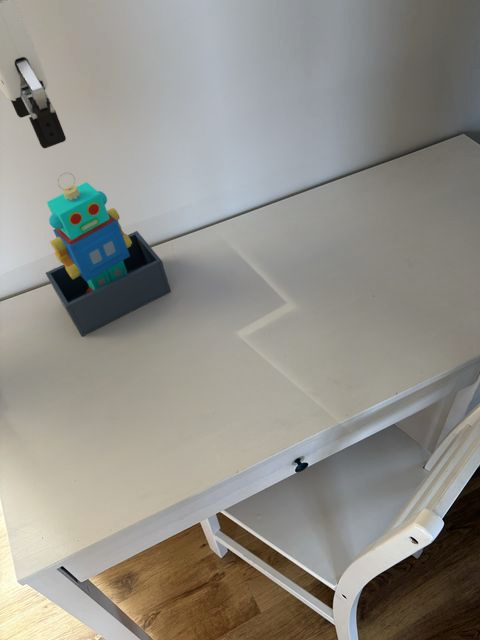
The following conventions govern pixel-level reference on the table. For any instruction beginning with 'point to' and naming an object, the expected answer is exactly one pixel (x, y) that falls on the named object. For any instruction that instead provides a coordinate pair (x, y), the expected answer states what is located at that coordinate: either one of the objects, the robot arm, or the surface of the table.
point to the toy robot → (88, 235)
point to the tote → (112, 289)
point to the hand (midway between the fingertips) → (41, 128)
